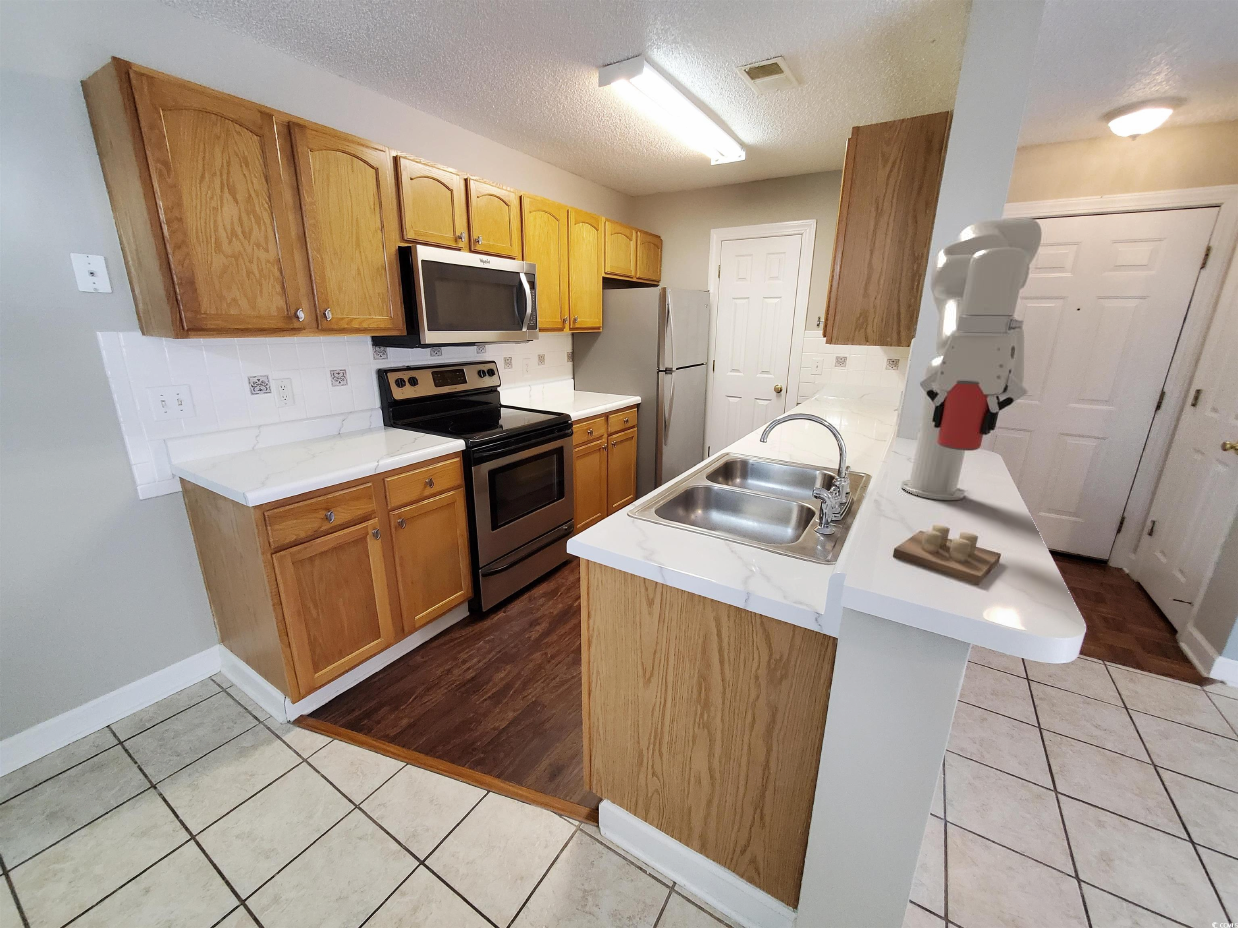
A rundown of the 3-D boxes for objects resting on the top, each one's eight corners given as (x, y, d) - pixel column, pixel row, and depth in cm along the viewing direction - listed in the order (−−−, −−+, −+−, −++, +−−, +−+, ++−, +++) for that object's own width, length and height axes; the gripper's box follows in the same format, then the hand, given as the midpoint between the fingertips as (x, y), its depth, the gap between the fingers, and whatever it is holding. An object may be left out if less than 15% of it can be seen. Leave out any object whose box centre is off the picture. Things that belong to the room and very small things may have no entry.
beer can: (981, 453, 84) (997, 383, 81) (936, 448, 87) (950, 380, 84) (978, 446, 90) (993, 380, 86) (936, 441, 93) (949, 377, 90)
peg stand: (918, 538, 89) (923, 515, 88) (999, 561, 80) (1005, 536, 79) (892, 556, 81) (897, 531, 80) (978, 585, 72) (984, 557, 71)
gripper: (1053, 328, 79) (1026, 436, 84) (933, 327, 91) (916, 420, 96) (1044, 328, 74) (1016, 442, 79) (919, 326, 87) (901, 425, 92)
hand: (961, 429), depth 88 cm, fingers closed on beer can, 6 cm apart
